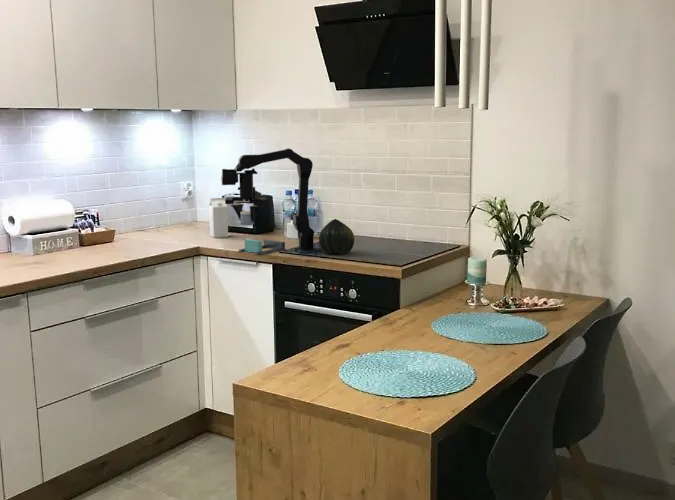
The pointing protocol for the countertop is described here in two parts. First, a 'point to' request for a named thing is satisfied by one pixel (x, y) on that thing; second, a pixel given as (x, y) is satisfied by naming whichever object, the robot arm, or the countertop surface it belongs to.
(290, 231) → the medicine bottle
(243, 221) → the jar
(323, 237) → the squash
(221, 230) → the milk carton
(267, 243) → the gray u-shaped archway
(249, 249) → the teal foam pad
